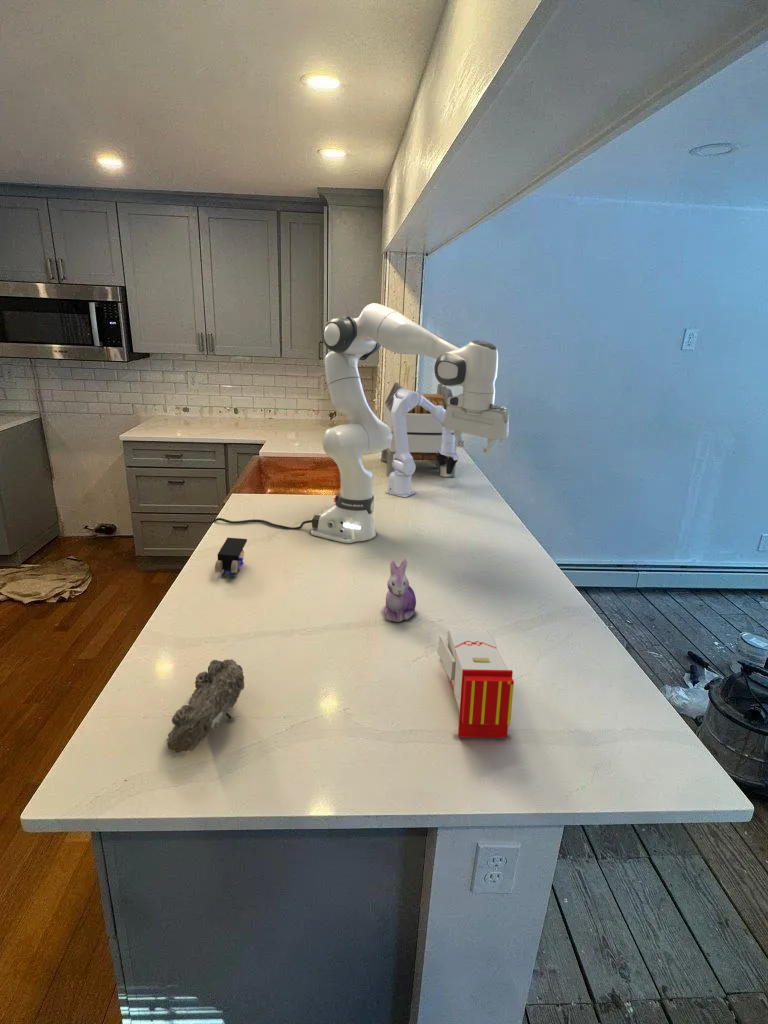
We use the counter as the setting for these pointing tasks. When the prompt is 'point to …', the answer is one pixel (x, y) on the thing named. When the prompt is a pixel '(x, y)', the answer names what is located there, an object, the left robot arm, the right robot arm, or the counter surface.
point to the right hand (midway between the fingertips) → (445, 472)
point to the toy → (478, 682)
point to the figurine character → (230, 556)
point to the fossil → (206, 705)
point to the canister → (444, 471)
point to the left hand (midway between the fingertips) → (473, 450)
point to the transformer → (418, 428)
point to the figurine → (399, 594)
